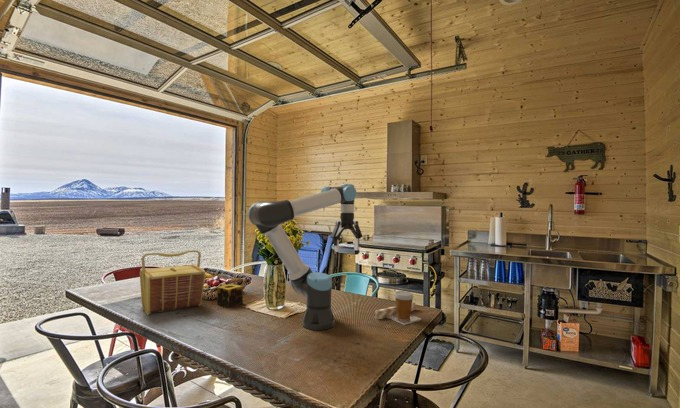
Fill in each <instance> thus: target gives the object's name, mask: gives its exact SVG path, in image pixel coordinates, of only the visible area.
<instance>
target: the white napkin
mask: <svg viewBox="0 0 680 408" xmlns="http://www.w3.org/2000/svg"><path fill="white" fill-rule="evenodd" d="M386 318H387V319H389V320H391V321H393V322H396V323H399V324H401V325H404V326H407V325H409V324H412V323H416V322H421V321H422V318H420V317H418V316H415V315H412V314H410V318H409V319H400V318H398V317H397V314H394V315H390V316H387V317H386Z"/></svg>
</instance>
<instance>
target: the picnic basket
mask: <svg viewBox="0 0 680 408" xmlns="http://www.w3.org/2000/svg"><path fill="white" fill-rule="evenodd" d="M188 253H189V254H190V253H197V255H198V256H197V265H196V264H193V263H192V264H188V265H187V264H186V265H176V266H166V267H164V266H163V267H155V268H153V267H152V268H146V264H145V263H146V261H145V258H146V257H147V256H161V257H166V258H171V257H172V258H173V257H179V256H183V255H186V254H188ZM201 256H202V253H201V251H199V250H197V249H195V250H194V249H192V250H186V251H181V252H177V253H165V252H164V253H163V252H150V253H145V254H144V255H142V257H141V268H140V269H139V281H140V282H139V284H140V295H141V296H140V298H141V299H140V300H141V305H142V308H143V310H144V312H145V313H146V315H151V314H156V313H162V312H168V311H174V310H178V309H179V310H180V309H186V308H190V307H191V308H192V307H200V306H202V301H203V293H204V286H205V279H206V270H205V269H204V268H201V266H200V265H201Z"/></svg>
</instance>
